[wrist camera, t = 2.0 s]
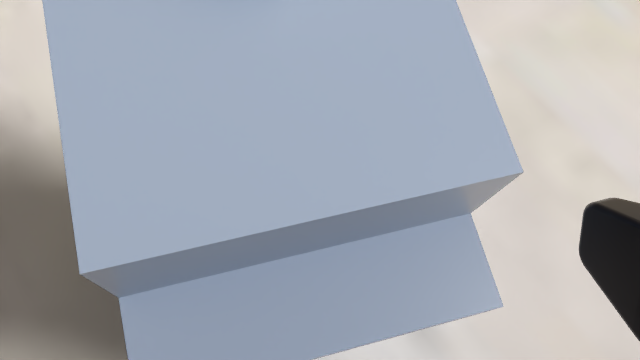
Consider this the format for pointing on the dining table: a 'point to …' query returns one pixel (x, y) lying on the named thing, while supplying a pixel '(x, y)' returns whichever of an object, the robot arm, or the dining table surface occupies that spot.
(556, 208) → the dining table surface
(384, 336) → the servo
